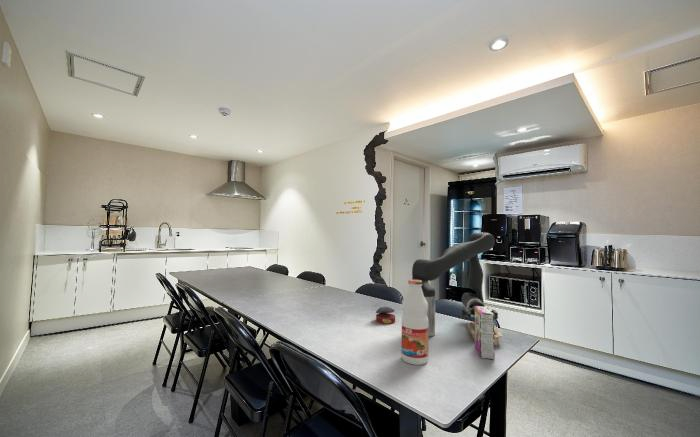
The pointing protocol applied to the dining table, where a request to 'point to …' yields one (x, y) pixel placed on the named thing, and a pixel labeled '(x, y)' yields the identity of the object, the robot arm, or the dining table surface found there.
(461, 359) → the dining table surface
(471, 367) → the dining table surface
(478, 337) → the candy bar box
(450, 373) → the dining table surface
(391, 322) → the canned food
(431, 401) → the dining table surface
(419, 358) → the fruit juice
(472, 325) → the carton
